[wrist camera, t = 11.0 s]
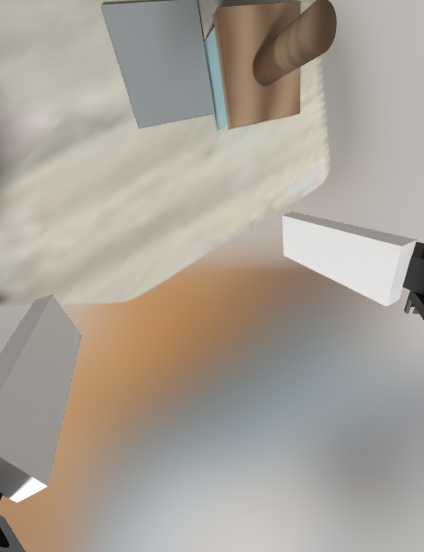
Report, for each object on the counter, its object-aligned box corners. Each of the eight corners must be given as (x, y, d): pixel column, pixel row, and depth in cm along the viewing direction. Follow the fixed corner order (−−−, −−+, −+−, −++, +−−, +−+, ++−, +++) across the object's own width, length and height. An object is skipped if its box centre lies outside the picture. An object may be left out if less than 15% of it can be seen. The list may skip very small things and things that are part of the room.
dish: (217, 130, 34) (231, 124, 30) (203, 43, 29) (217, 21, 25) (270, 119, 36) (290, 112, 32) (266, 36, 31) (288, 15, 27)
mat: (138, 128, 30) (139, 127, 30) (101, 8, 24) (100, 4, 24) (213, 113, 33) (214, 113, 32) (195, 2, 27) (196, -2, 27)
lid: (228, 129, 30) (274, 111, 21) (212, 15, 24) (265, -73, 16) (293, 115, 32) (358, 94, 24) (291, 9, 27) (375, -70, 18)
